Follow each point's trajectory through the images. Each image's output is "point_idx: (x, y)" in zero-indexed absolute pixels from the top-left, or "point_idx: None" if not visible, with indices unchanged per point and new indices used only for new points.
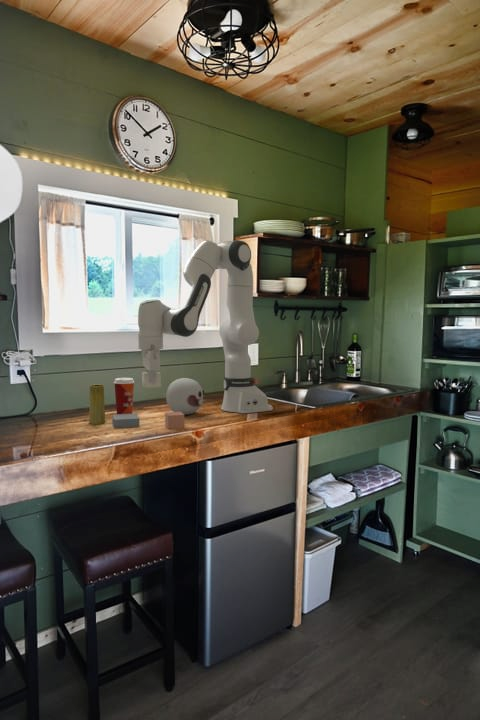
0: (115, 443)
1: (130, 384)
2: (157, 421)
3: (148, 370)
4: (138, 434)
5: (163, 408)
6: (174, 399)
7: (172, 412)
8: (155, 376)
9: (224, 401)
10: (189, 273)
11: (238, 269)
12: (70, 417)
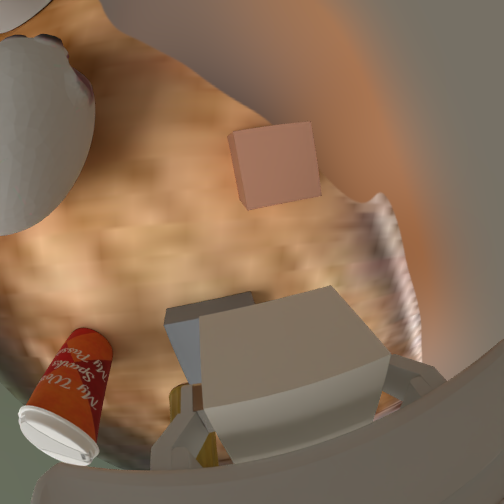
0: (405, 313)
1: (69, 418)
2: (169, 234)
3: (199, 465)
4: (350, 278)
5: None
6: (70, 176)
7: (251, 173)
8: (411, 362)
9: (15, 4)
10: None
11: None
12: (144, 438)
